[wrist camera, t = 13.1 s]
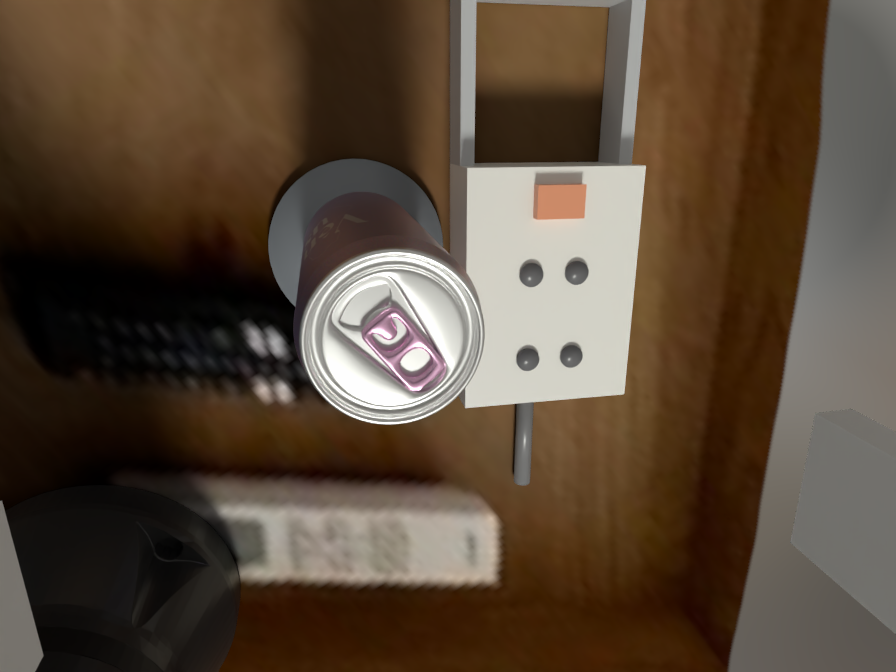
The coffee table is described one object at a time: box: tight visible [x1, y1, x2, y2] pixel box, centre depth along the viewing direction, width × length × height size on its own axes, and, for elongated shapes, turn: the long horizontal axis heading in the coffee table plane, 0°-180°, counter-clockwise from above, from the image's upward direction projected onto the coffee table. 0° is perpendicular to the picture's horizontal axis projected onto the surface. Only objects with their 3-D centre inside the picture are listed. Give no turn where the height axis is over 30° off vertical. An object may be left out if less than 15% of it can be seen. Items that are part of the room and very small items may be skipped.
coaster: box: [268, 158, 443, 307], centre depth 33 cm, size 9×9×1 cm
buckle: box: [450, 0, 646, 485], centre depth 33 cm, size 28×9×5 cm, turn 0°
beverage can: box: [294, 192, 485, 425], centre depth 26 cm, size 6×6×15 cm
